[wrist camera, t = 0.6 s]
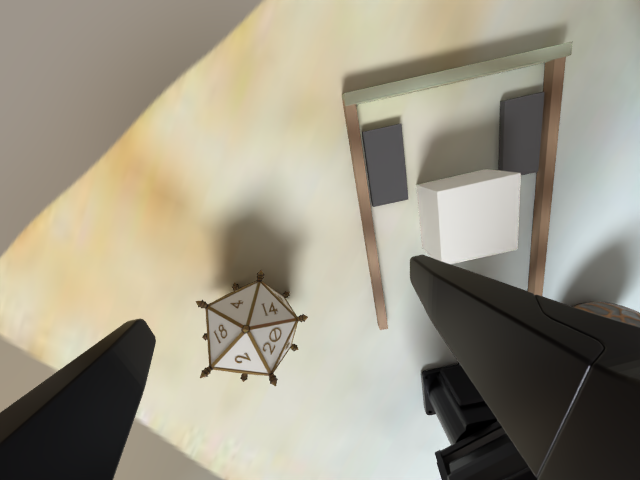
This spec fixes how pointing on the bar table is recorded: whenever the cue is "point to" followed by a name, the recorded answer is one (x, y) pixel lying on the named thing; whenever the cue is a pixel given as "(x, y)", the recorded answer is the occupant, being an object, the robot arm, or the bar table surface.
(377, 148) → the dark grey rectangular slab
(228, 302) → the game die
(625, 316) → the vase
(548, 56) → the wood-trimmed serving tray
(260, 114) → the bar table surface
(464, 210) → the block
